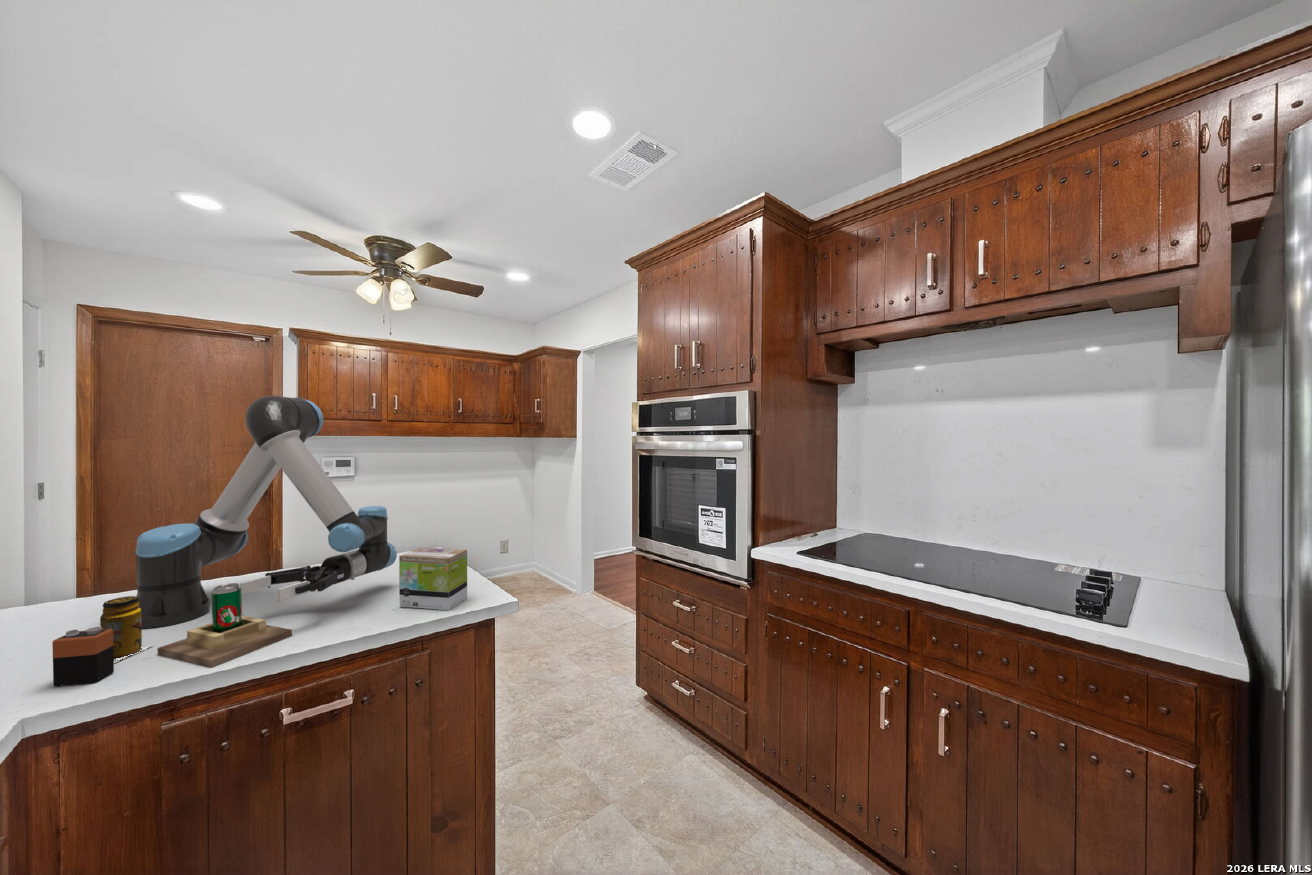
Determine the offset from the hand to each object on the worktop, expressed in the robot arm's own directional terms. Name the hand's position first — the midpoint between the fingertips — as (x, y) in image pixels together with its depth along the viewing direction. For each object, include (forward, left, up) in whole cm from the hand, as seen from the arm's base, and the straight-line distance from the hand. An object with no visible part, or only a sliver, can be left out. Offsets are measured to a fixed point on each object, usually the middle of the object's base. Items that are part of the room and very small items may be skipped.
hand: (259, 591), depth 115 cm
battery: (-9, -26, -10) cm, 29 cm away
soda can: (0, -7, -9) cm, 11 cm away
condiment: (-17, -18, -10) cm, 27 cm away
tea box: (+25, +29, -10) cm, 40 cm away
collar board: (0, -7, -10) cm, 12 cm away
